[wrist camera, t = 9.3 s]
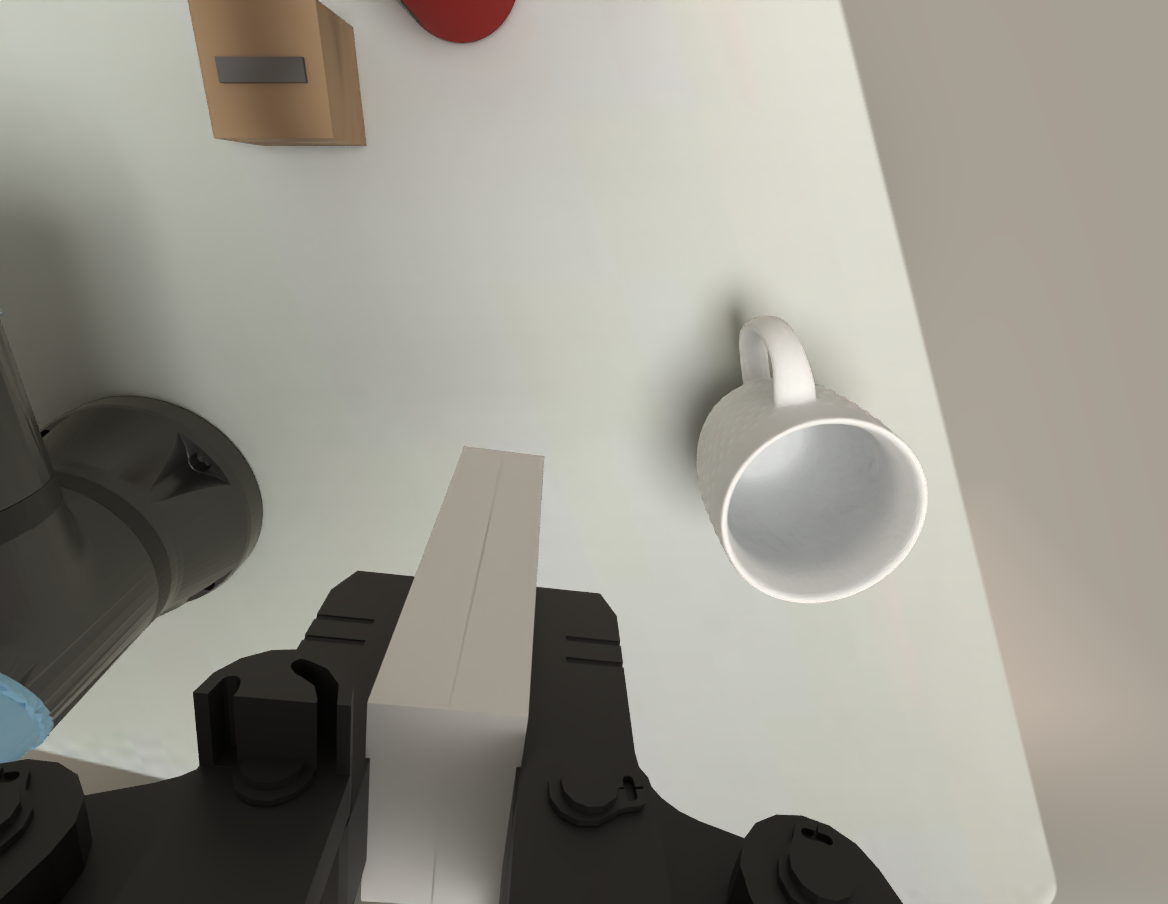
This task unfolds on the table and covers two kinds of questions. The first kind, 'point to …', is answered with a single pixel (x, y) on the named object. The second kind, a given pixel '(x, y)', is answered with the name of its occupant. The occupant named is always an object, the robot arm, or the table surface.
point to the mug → (805, 478)
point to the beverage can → (459, 17)
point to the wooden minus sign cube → (278, 72)
